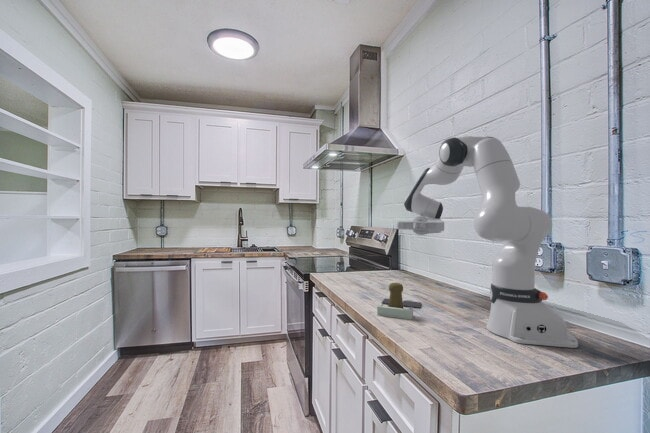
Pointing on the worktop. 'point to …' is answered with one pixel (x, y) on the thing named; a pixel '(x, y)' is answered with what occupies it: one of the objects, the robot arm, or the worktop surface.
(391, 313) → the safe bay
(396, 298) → the cork
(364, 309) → the worktop surface
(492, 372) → the worktop surface
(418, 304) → the trap squares
